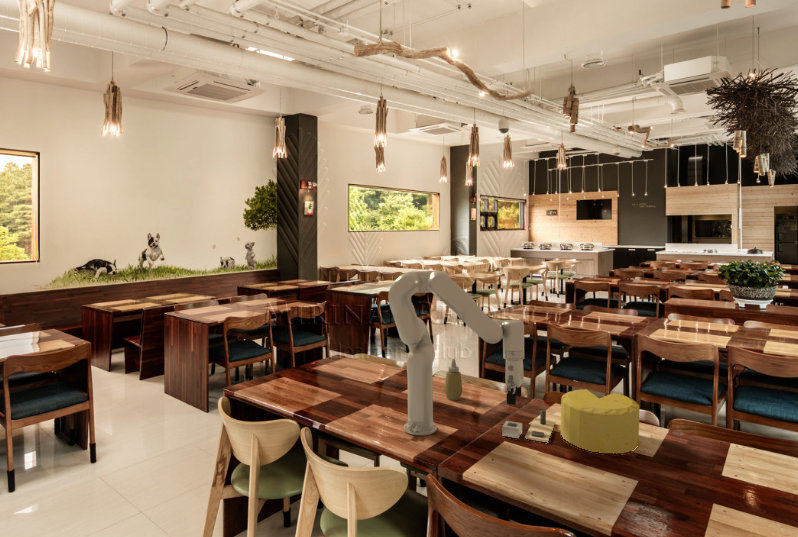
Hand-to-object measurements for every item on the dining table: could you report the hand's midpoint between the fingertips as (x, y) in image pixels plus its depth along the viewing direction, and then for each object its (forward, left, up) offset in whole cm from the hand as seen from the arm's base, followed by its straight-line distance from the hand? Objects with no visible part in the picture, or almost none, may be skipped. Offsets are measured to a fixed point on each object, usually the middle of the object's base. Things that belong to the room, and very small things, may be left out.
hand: (514, 400), depth 179 cm
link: (0, +1, -13) cm, 13 cm away
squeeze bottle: (+30, +34, -14) cm, 47 cm away
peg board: (+8, -8, -13) cm, 18 cm away
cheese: (+10, -28, -14) cm, 33 cm away
